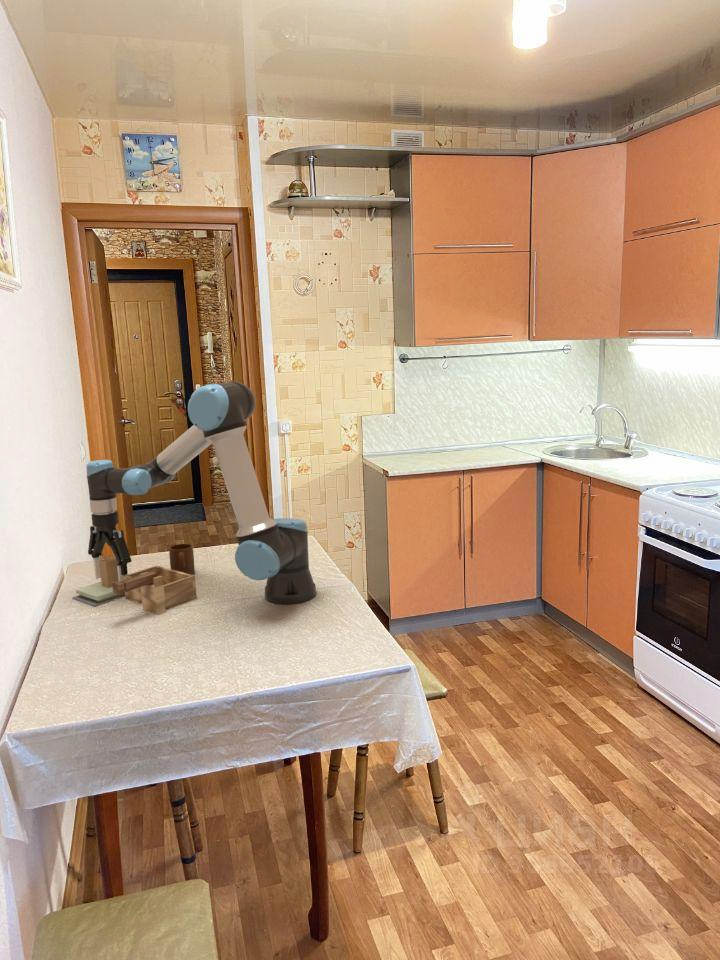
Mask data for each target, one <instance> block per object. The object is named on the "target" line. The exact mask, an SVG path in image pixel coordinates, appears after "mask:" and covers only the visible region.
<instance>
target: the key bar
mask: <svg viewBox="0 0 720 960" xmlns="http://www.w3.org/2000/svg"><path fill="white" fill-rule="evenodd" d="M155 577H157V574H156V573H155V572H148V573H145V574H142V575H139V576H136V577H133V578H129V579H126V580H123V581H120V582H118V581H115V582H112V586H113V593H115V594H118V595H123V594H125V592H127V591H130V590H133V589H136V588H139V587H142V586H145V585H148V584H151V583H153V578H155Z"/></svg>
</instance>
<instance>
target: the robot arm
mask: <svg viewBox="0 0 720 960" xmlns="http://www.w3.org/2000/svg"><path fill="white" fill-rule="evenodd" d="M255 409H256V397H255V394H254V393H253V391H252V390H251V389H250V387H248V385H246V384H244V383H243V382H239V381H227V382H217V383H216V382H215V383H210V384H209V383H208V384H206V385H202V386H200V387H198V388H197V389H195V390H194V392H192V394H191V396H190V399H189V400H188V403H187V413H188V417H189V420H190V422H191V423H192V424H193V425H191V427H190V428H188V429H187V430H185V431H184V433H182V434H181V435H180V436H178V437H177V438H176V439H175V440H174V441H173V442H172V443H170V444H169V445H168V446H167V447H166V448H165V449H164V450H162V451H161V452H160V453H159V454H158V455H157V456H155V457H154V458H152V460H151V461H149V462H146V463H143V464H139V465H136V466H135V465H134V466H132V467H127V468H125V467H121V468H118V467H115V465H114V463H113V461H112V460H109V459H96V460H92V461H89V462H88V463H86V480H87V486H88V495H89V507H90V512H91V523H92V525H91V526H89V530H90V531H89V534H90V536H89V542H88V548H87V549H88V550H87V554H88V555H89V556H91V558H93V566H94V567H93V568H94V577H95V579H96V580H97V579H98V580H99V579H101V574H100V564H99V561H100V560H103V559H104V557H103V550H104V547H105V545H106V544H107V546H109V547H110V549H111V551H112V553H113V555H114V557H116V559H117V561H118V564H117V570H118V579H119V582H120V581H123V580H124V578H123V576H126V575H128V574H129V573H128V564H129V563H131V562H132V558H131V553H130V552H129V548H128V545H127V543H126V540H125V536H124V533H125V532H124V530H123V529H122V530H117V527H116V526H117V525H118V524H119V522H120V521H119V519H120V518H119V512H118V511H117V510H118V505H117V504H118V503H117V499H118V498H117V494H119V495H131V496H136V495H137V496H138V495H139V496H140V495H141V496H142V495H146V494H147V493H148V491H149V490H150V489H152V488H155V487H158V486H162V485H165V484H167V483H169V482H172V481H173V479H174V478H175V475H176V474H177V472H179V471H180V470H181V469H182V468H184V467H185V466H186V465H188V464H189V463H190V462H191V461H192V460H194V458H196V457H197V456H198V455H200V454H201V453H202V452H203V451H204V450H205V449H207V448H208V447H210V446H211V445H212V447H213V449H214V453H215V456H216V459H217V462H218V465H219V468H220V472H221V474H222V478H223V481H224V484H225V488H226V490H227V493H228V496H229V497H228V498H229V499H230V504H231V506H232V509H233V512H234V516H235V519H236V522H237V524H238V530H237V532H236V534H235V537H236V540H237V541H236V542H237V545H238V546H237V547H236V551H235V553H234V561H235V565H236V566H237V568H238V570H239V571H240V573H242V574H243V575H244V576H245V577H248V578H249V579H251V580H254V581H264V580H265V581H266V585H265V587H264V598H265V600H266V601H267V602H270V603H273V604H281V605H289V604H290V605H291V604H300V603H303V602H308V601H309V600H312V599H313V598H315V597H316V595H317V586H316V583H315V582H314V579H313V576H312V573H311V571H310V565H309V564H310V563H309V562H310V561H309V542H308V539H309V537H308V533H309V531H308V526H307V522H306V521H305V520H304V519H301V518H294V517H293V518H292V517H291V518H289V517H288V518H287V517H286V518H284V517H283V518H282V517H281V518H270V515H269V512H268V509H267V506H266V502H265V500H264V495H263V493H262V489H261V486H260V483H259V480H258V477H257V474H256V471H255V467H254V465H253V462H252V457H251V454H250V452H249V449H248V446H247V442H246V439H245V436H244V434H245V431H246V430H247V424H246V422H247V420H249V419H250V418H251V417H252V415H253V414H254V412H255Z"/></svg>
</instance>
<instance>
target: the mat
mask: <svg viewBox="0 0 720 960" xmlns="http://www.w3.org/2000/svg"><path fill="white" fill-rule="evenodd" d="M121 598H125V594H123V595H118V596H115V597H112V598H109V599H106V600H103V601H101V602H99V601H96V600H93V599H90V598H87V597H84V596H82V595H79V594H77V595H75V596H72V597H71V599H72V600H75V601H78V602H80V603H83V604H85V605H89V606H92V607H94V608H95V607H98V606H101V605H103V604H107V603H110V602H112V601H115V599H116V600H118V599H121Z"/></svg>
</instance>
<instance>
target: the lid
mask: <svg viewBox="0 0 720 960" xmlns="http://www.w3.org/2000/svg"><path fill="white" fill-rule="evenodd" d="M99 564H100V574H101V578H100V580H101V581H99V582H95V583H92V584H89V585H85V586H83V587H80V588H77V589H75V594H77V595H82V596H84V597H87V598H90V599H93V600H96V601H99V602H101V601H103V600H106V599H109V598H112V597H115V596H118V594H115V593H113V586H112V582H115V581H118V582H119V579H118V570H117V564H118V561H117V559H116V557H115V556H110V557H108V558H107V557H106V558H103V560H100V561H99ZM128 575H129V573H128Z"/></svg>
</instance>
